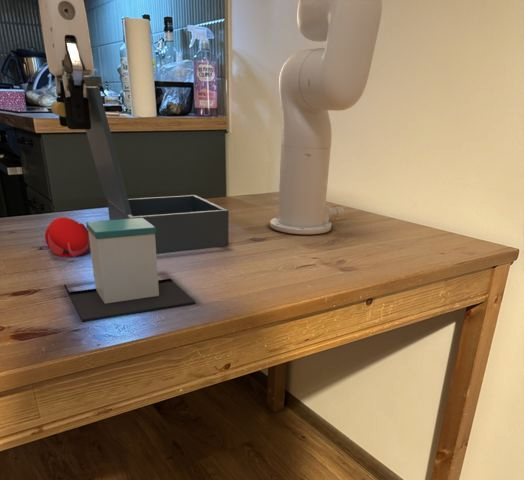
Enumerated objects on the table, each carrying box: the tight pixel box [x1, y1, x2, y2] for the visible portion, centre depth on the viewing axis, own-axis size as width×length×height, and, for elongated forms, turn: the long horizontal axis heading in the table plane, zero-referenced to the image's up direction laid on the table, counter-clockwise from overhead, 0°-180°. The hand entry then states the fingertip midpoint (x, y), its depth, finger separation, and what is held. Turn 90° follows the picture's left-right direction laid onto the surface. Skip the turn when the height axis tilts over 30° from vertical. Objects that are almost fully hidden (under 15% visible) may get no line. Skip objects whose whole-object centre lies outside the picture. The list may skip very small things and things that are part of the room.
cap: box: [44, 216, 91, 258], centre depth 79 cm, size 8×6×6 cm
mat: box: [63, 278, 196, 323], centre depth 66 cm, size 14×13×1 cm
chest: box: [106, 194, 229, 255], centre depth 87 cm, size 17×15×7 cm
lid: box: [50, 86, 132, 215], centre depth 76 cm, size 17×15×6 cm
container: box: [85, 218, 159, 304], centre depth 64 cm, size 7×6×9 cm
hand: (75, 126), depth 74 cm, fingers closed on lid, 6 cm apart
